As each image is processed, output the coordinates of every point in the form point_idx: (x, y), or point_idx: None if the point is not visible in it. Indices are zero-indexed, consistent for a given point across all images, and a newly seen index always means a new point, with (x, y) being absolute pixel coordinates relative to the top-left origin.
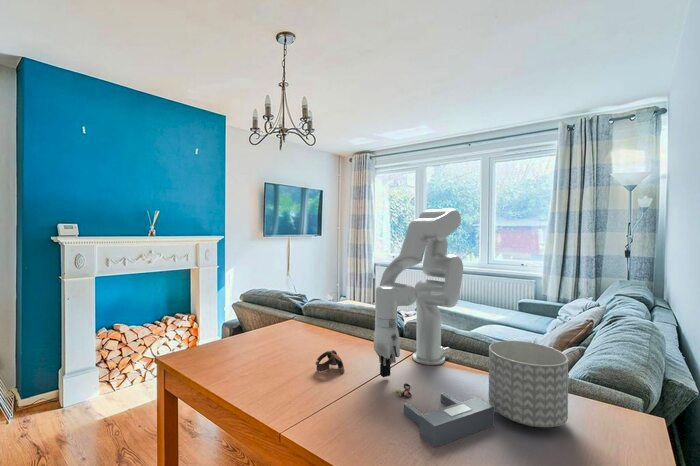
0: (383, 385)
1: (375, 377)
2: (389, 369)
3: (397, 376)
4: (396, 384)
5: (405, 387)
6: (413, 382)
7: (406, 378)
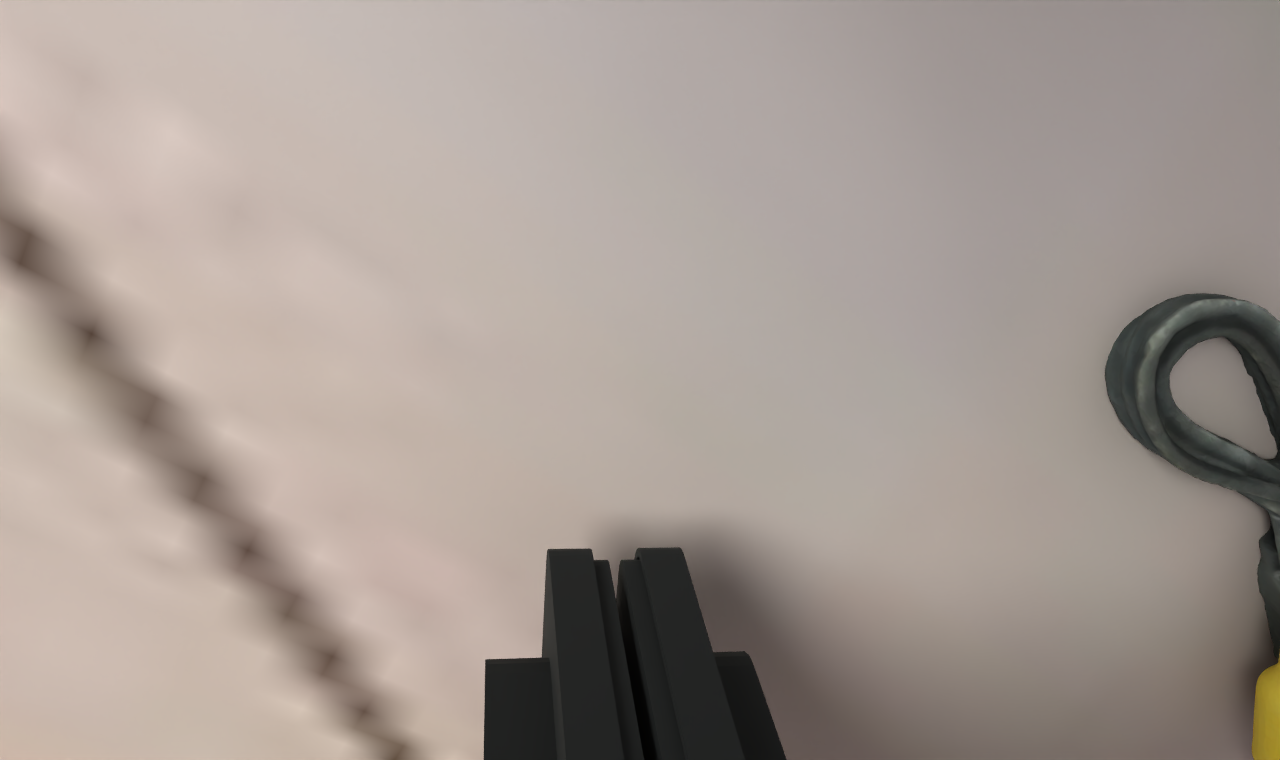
0: (805, 721)
1: (390, 700)
2: (783, 752)
3: (615, 210)
4: (943, 493)
5: (1269, 498)
6: (1167, 54)
7: (870, 56)
